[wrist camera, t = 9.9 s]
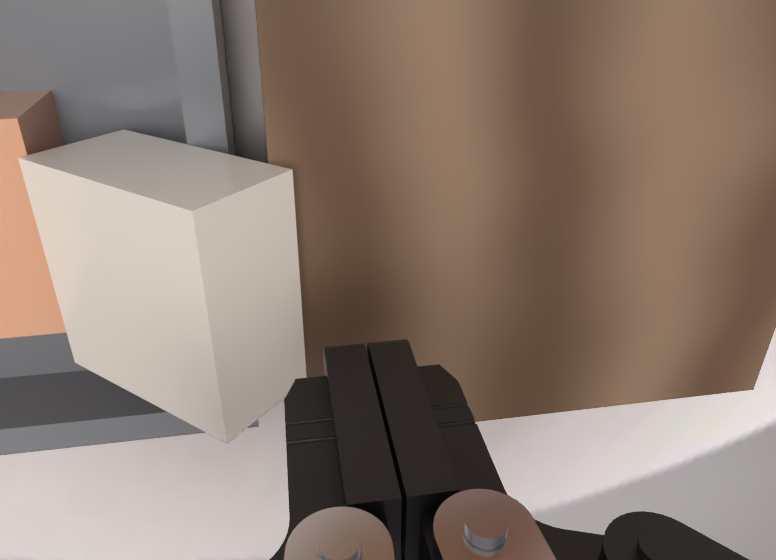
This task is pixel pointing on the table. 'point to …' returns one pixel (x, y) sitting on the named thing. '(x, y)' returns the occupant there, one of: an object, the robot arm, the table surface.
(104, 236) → the cream tile
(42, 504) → the table surface
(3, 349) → the box
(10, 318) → the terracotta tile
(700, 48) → the wood grain slab
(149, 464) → the table surface
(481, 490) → the robot arm
